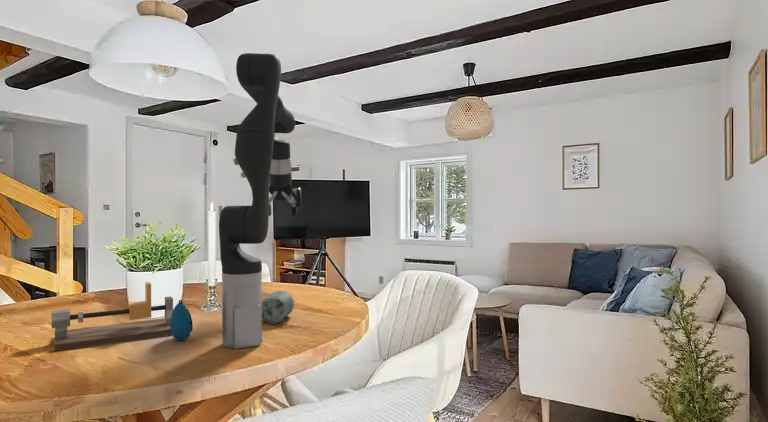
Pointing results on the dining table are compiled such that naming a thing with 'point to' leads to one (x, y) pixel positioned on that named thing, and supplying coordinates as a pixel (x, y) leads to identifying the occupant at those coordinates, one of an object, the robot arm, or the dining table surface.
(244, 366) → the dining table surface
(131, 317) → the l-shaped tan slider
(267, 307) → the grey textured cylinder
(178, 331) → the ornament
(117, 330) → the wooden bar clamp
